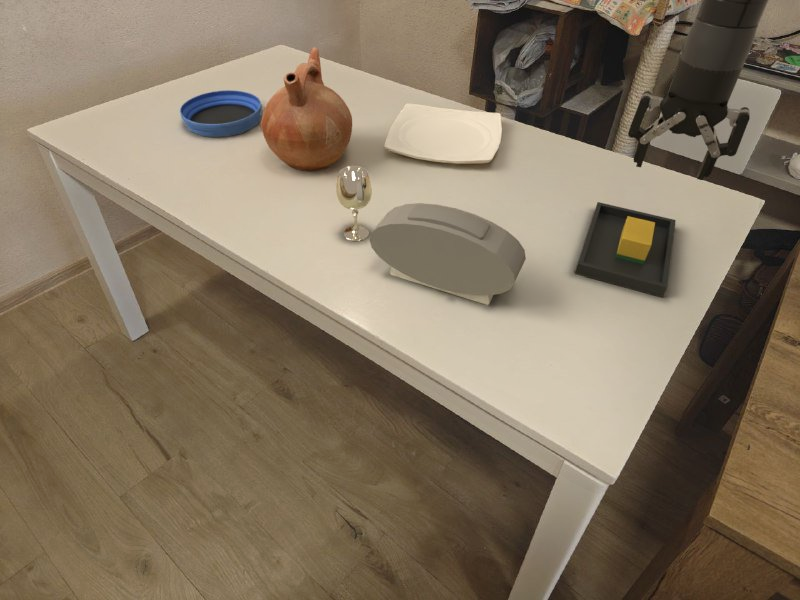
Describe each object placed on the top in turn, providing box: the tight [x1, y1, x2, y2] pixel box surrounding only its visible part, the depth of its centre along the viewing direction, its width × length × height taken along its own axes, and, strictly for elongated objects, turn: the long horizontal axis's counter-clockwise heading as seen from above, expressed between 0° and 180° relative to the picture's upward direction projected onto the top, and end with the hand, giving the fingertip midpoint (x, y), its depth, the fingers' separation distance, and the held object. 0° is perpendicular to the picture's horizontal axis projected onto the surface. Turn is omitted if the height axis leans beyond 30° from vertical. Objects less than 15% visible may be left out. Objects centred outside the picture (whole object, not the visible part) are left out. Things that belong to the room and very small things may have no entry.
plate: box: [383, 102, 503, 165], centre depth 120 cm, size 24×24×3 cm
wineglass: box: [336, 165, 373, 242], centre depth 92 cm, size 6×6×12 cm
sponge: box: [616, 216, 655, 264], centre depth 91 cm, size 7×4×4 cm, turn 156°
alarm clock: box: [368, 202, 527, 306], centre depth 83 cm, size 23×6×13 cm, turn 65°
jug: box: [260, 46, 353, 172], centre depth 108 cm, size 18×18×20 cm
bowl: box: [179, 89, 263, 138], centre depth 126 cm, size 18×18×4 cm
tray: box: [574, 201, 677, 298], centre depth 93 cm, size 20×14×2 cm
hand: (669, 171), depth 81 cm, fingers open, 8 cm apart
